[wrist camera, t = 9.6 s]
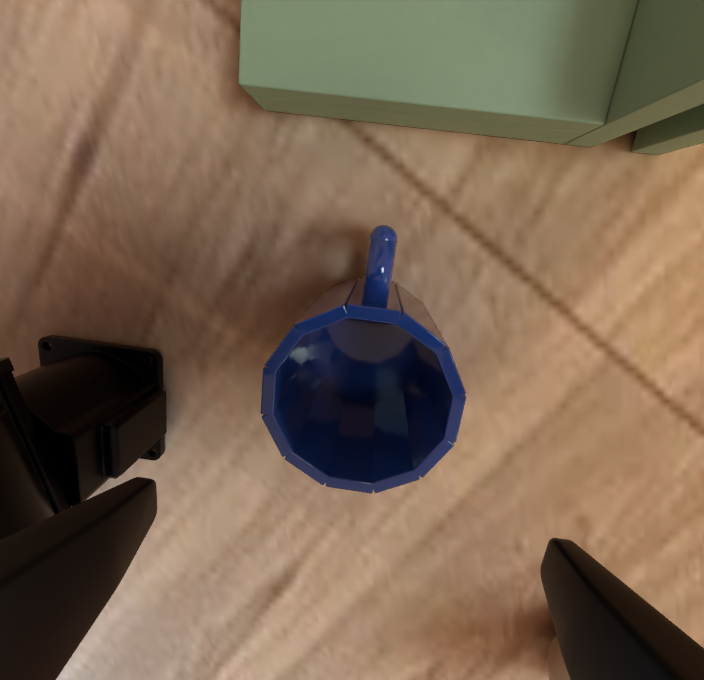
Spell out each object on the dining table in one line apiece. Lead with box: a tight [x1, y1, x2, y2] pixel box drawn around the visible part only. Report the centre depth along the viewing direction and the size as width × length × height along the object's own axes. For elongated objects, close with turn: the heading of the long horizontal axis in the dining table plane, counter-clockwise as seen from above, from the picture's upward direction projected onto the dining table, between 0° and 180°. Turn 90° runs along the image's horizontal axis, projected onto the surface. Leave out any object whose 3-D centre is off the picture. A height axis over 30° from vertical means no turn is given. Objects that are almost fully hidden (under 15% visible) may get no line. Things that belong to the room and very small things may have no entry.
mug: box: [261, 225, 466, 493], centre depth 16 cm, size 7×9×7 cm
